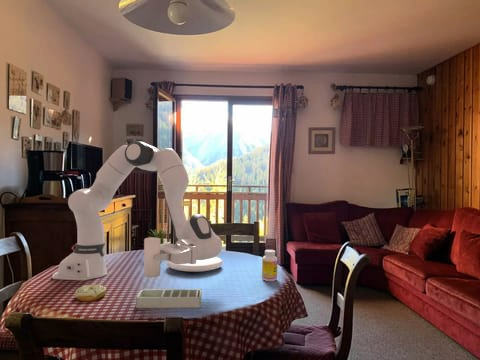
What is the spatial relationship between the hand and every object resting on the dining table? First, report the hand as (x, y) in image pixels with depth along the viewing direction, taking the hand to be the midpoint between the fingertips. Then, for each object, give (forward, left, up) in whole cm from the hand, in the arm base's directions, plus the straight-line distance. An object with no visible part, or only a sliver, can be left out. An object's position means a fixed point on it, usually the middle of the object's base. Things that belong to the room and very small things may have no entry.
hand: (149, 255), depth 130 cm
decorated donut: (-23, +8, -17) cm, 30 cm away
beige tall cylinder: (+1, +1, -7) cm, 7 cm away
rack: (+7, +1, -17) cm, 18 cm away
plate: (+13, +50, -17) cm, 54 cm away
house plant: (-9, +76, -17) cm, 78 cm away
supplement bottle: (+47, +30, -17) cm, 58 cm away
